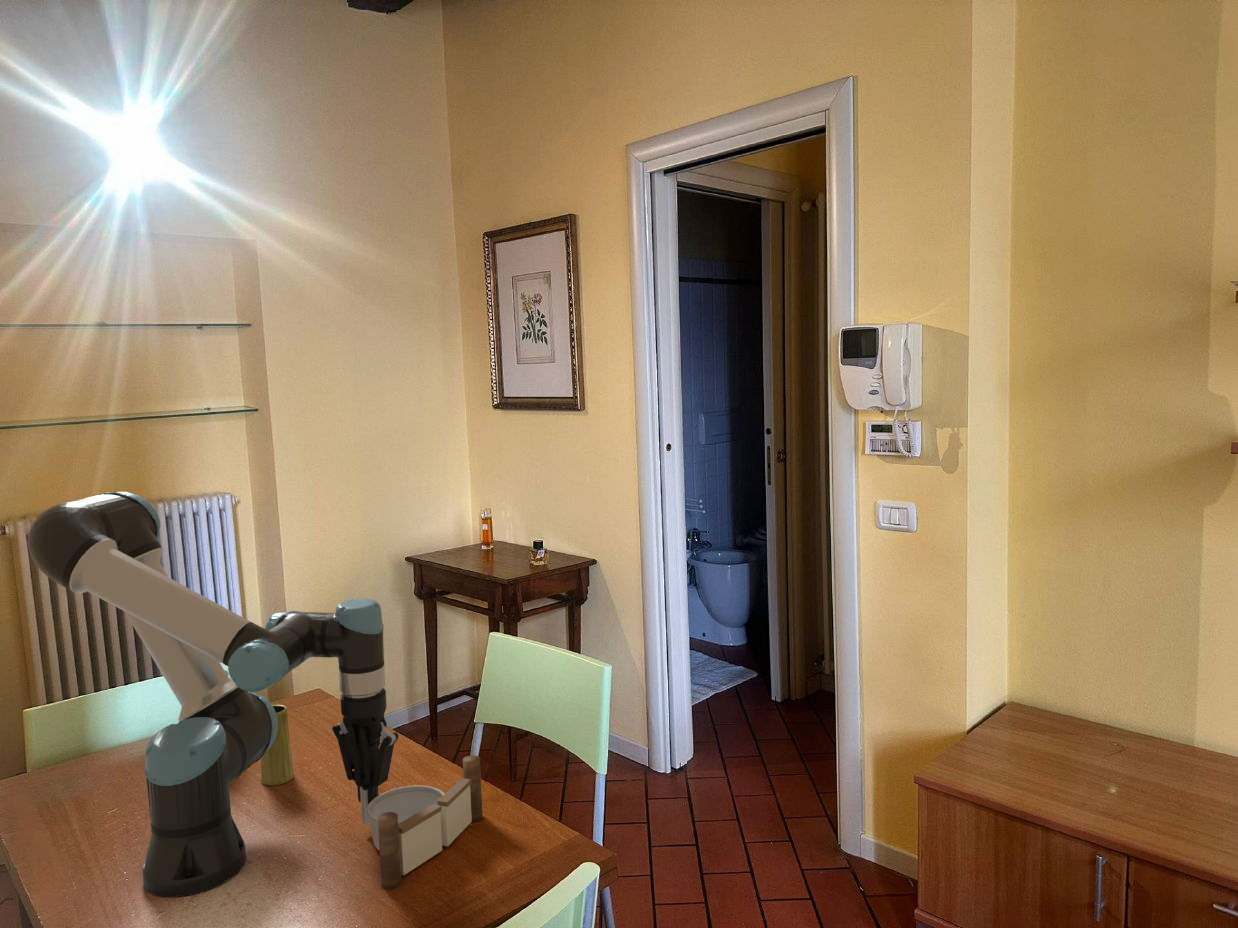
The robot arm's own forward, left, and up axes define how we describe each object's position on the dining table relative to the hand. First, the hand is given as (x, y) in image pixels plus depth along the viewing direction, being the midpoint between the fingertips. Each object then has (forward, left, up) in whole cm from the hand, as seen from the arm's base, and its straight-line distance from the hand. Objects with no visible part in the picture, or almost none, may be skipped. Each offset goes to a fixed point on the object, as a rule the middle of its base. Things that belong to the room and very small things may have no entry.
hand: (369, 819), depth 156 cm
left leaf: (-5, -15, -1) cm, 16 cm away
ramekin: (0, -9, -2) cm, 9 cm away
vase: (+8, +30, -2) cm, 32 cm away
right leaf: (+4, -15, -1) cm, 16 cm away
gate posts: (0, -15, -2) cm, 15 cm away
